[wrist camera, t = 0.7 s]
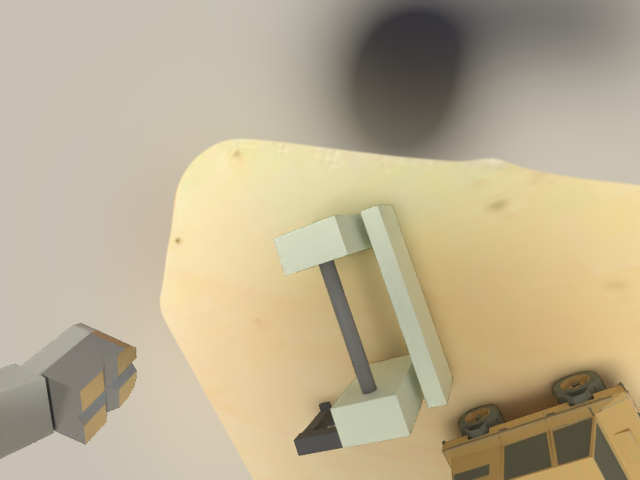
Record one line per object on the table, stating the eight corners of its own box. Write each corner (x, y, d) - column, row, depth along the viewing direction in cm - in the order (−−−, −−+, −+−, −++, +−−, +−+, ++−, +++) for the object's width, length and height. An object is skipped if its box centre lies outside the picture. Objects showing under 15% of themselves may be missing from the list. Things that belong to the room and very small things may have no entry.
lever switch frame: (452, 378, 56) (441, 430, 43) (375, 395, 59) (343, 448, 46) (392, 205, 57) (362, 204, 44) (320, 232, 60) (273, 238, 47)
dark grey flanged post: (374, 415, 59) (354, 451, 51) (327, 425, 62) (300, 460, 53) (366, 393, 60) (345, 424, 51) (320, 403, 62) (292, 435, 53)
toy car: (654, 448, 49) (720, 545, 35) (483, 496, 55) (480, 593, 41) (605, 358, 50) (649, 417, 36) (443, 415, 56) (427, 484, 42)
